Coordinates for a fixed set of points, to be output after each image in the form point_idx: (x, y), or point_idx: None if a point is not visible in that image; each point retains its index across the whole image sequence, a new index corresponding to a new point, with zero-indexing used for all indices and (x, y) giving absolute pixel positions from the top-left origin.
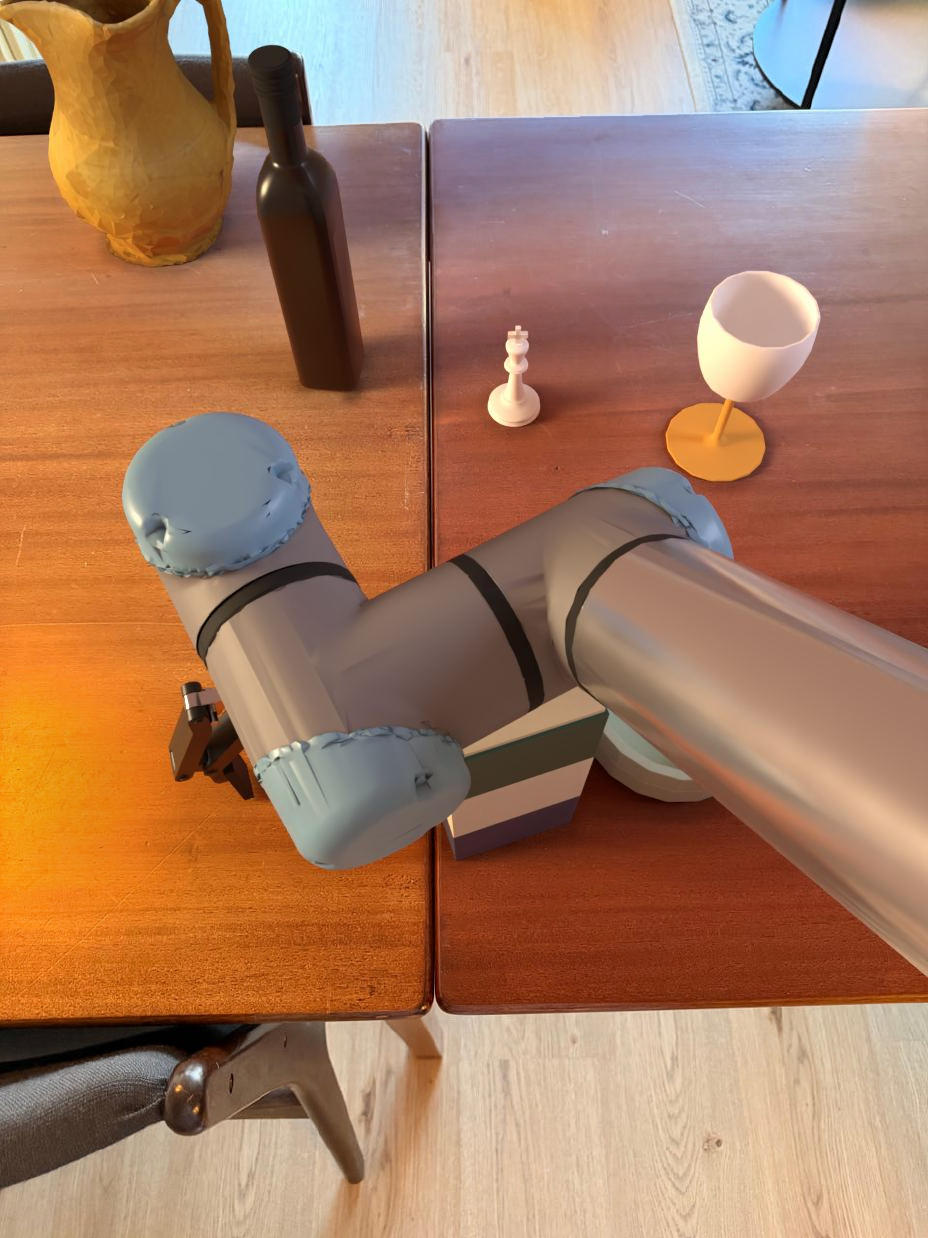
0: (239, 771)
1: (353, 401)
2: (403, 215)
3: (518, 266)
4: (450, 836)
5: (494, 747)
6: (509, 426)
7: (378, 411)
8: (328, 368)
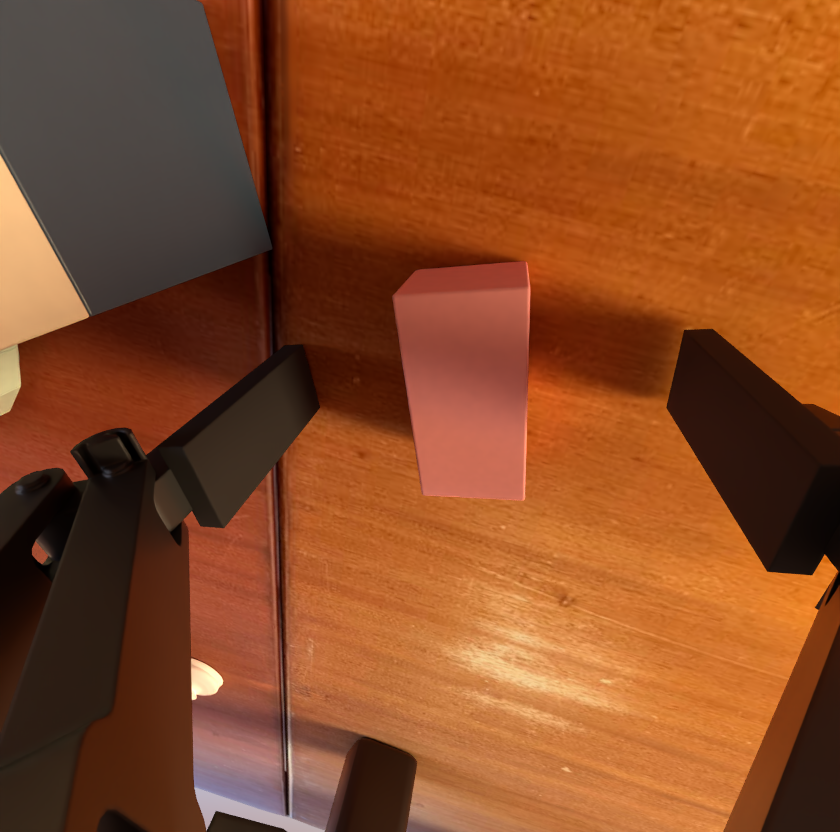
0: (744, 428)
1: (364, 729)
2: (307, 796)
3: (207, 742)
4: (88, 2)
5: None
6: (197, 660)
7: (338, 715)
8: (373, 792)
